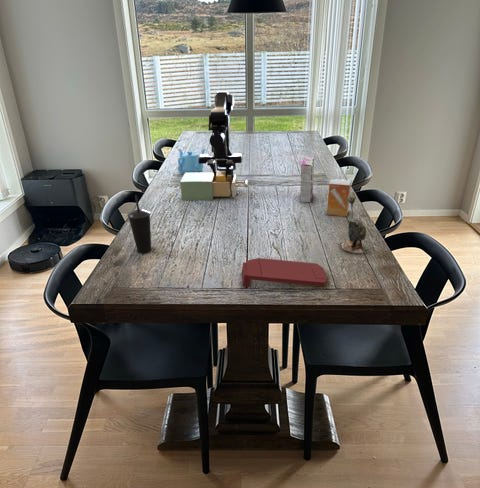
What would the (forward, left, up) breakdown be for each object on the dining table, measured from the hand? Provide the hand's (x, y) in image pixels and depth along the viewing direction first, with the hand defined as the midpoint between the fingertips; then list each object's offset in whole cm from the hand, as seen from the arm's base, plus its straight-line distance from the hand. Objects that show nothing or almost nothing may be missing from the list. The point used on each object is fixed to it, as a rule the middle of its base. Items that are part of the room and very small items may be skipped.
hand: (221, 177), depth 202 cm
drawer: (-2, +1, -7) cm, 7 cm away
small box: (-31, +45, -8) cm, 55 cm away
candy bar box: (-30, +24, -8) cm, 39 cm away
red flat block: (+16, +80, -8) cm, 82 cm away
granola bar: (0, 0, -1) cm, 1 cm away
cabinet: (+9, -5, -8) cm, 13 cm away
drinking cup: (+48, +39, -8) cm, 62 cm away
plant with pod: (-15, +75, -8) cm, 77 cm away
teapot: (-3, -43, -8) cm, 44 cm away
